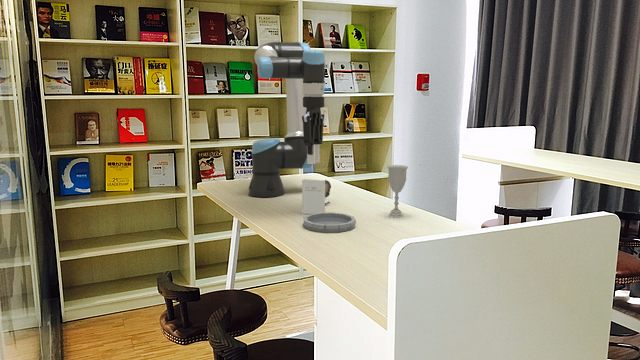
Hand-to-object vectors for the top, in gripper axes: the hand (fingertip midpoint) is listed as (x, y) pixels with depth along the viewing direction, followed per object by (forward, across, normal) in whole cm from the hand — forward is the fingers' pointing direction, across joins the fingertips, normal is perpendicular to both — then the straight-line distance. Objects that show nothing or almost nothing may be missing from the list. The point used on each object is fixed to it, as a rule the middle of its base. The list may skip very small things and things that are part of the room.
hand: (313, 163), depth 188 cm
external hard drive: (+19, +1, 0) cm, 19 cm away
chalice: (+19, +10, -28) cm, 35 cm away
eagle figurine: (+19, +16, +4) cm, 25 cm away
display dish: (+19, -12, -12) cm, 25 cm away
